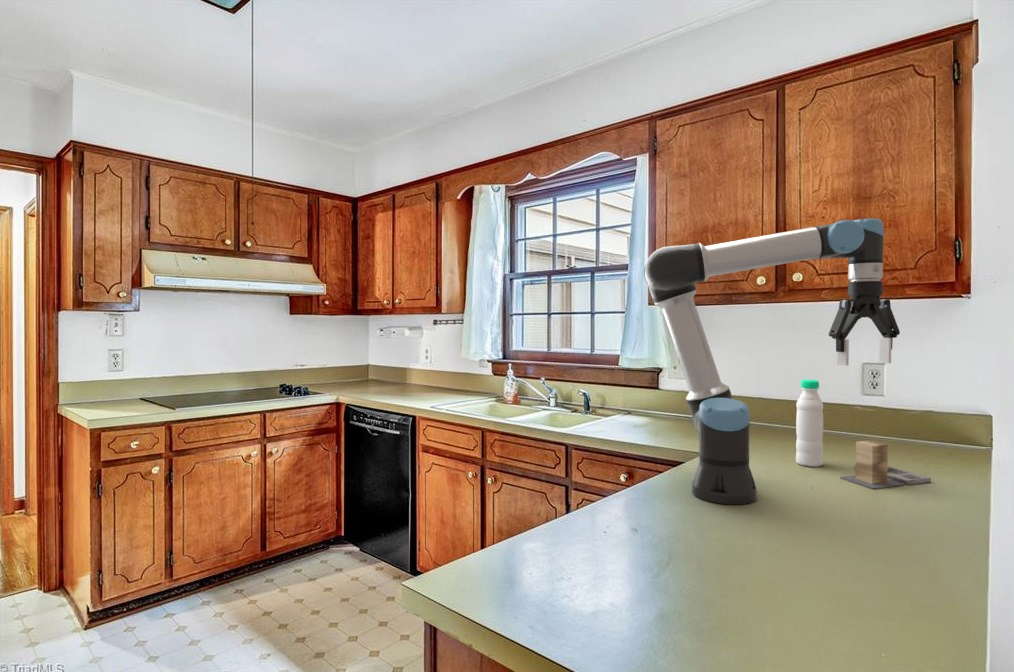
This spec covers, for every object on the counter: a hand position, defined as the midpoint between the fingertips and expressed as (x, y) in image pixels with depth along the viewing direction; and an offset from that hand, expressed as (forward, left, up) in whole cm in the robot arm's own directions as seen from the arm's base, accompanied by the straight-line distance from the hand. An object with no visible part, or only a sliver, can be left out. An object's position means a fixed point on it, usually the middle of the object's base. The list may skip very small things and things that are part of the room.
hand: (864, 364), depth 145 cm
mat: (+5, +2, -32) cm, 32 cm away
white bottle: (+3, +21, -32) cm, 38 cm away
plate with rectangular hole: (+15, +5, -32) cm, 35 cm away
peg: (+5, +2, -31) cm, 32 cm away
